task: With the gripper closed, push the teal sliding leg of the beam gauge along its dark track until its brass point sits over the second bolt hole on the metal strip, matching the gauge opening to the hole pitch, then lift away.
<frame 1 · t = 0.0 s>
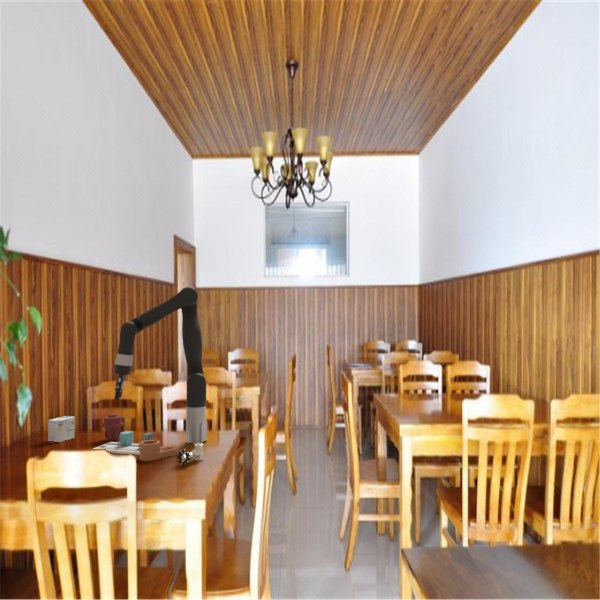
hand: (117, 398, 229), 22 cm above the table, tool pointing down, fingers open, 8 cm apart
fixed leg: (147, 449, 223), resting on gauge board
light bulb box: (61, 440, 241), on the table
bracket: (159, 456, 213), on the table
gauge board: (125, 449, 223), on the table
valve: (192, 462, 203), on the table
mechanical component: (112, 440, 242), on the table
sliding leg: (123, 439, 224), point 4 cm above the table, slide at 0.0 cm
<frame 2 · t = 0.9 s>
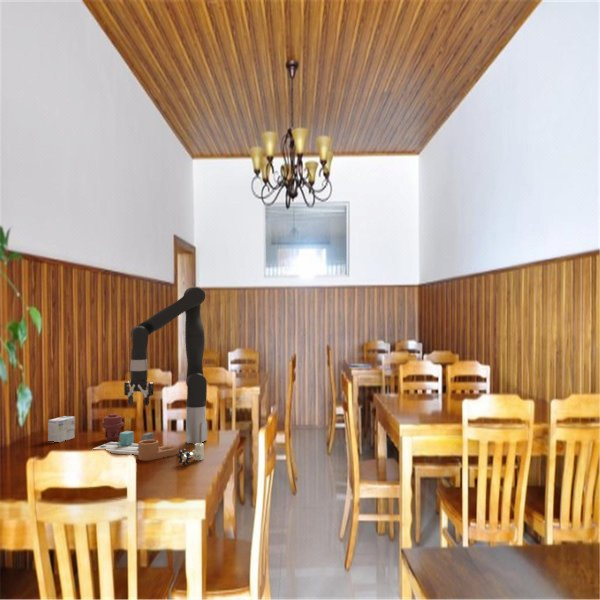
hand: (138, 405, 225), 20 cm above the table, tool pointing down, fingers open, 7 cm apart
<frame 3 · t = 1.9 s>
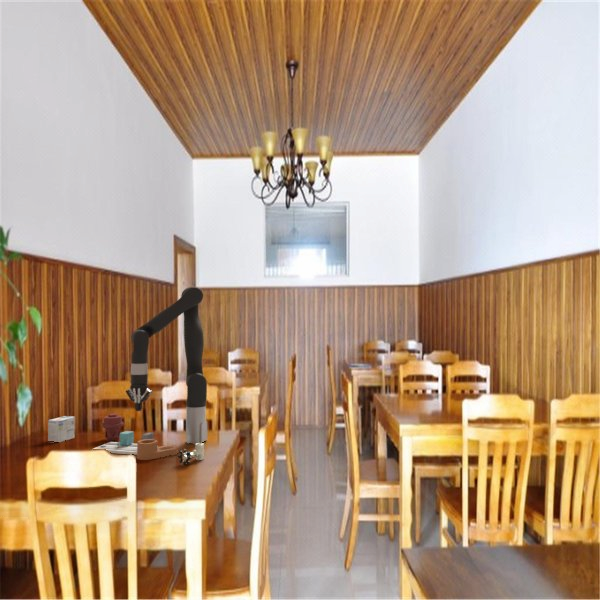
hand: (138, 410, 225), 17 cm above the table, tool pointing down, fingers closed
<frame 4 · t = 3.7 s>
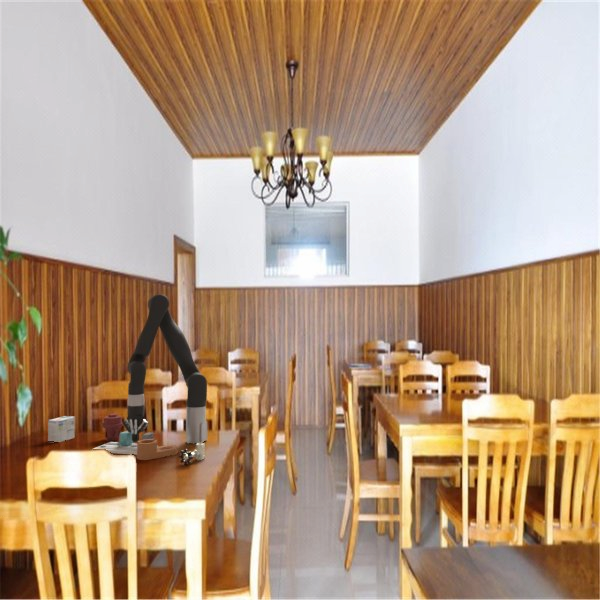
hand: (135, 441, 225), 3 cm above the table, tool pointing down, fingers closed
sliding leg: (123, 439, 224), point 4 cm above the table, slide at 0.1 cm, touching gripper
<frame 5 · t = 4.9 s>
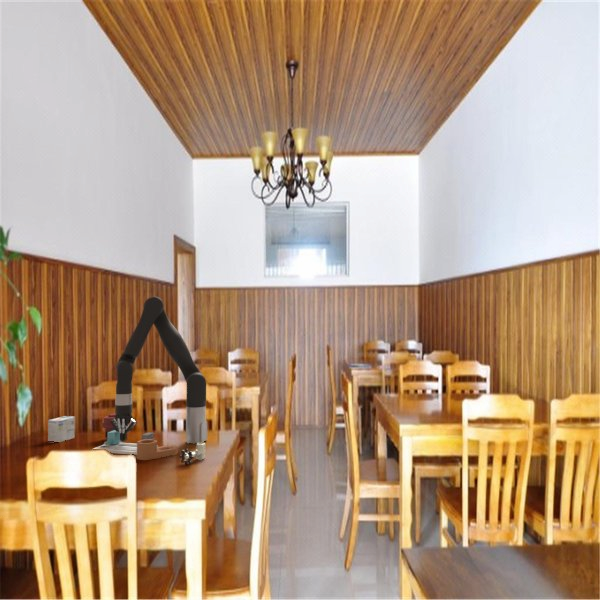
hand: (123, 440, 226), 3 cm above the table, tool pointing down, fingers closed
sliding leg: (111, 438, 226), point 4 cm above the table, slide at 6.5 cm, touching gripper
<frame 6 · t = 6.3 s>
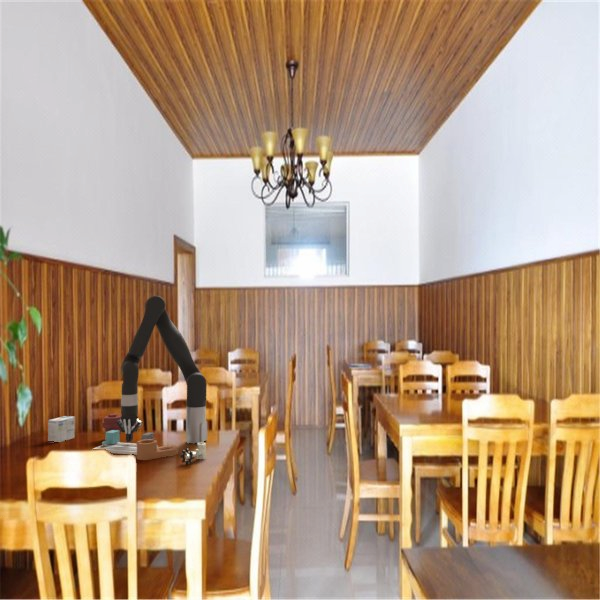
hand: (129, 441, 226), 3 cm above the table, tool pointing down, fingers closed
sliding leg: (109, 438, 226), point 4 cm above the table, slide at 7.5 cm
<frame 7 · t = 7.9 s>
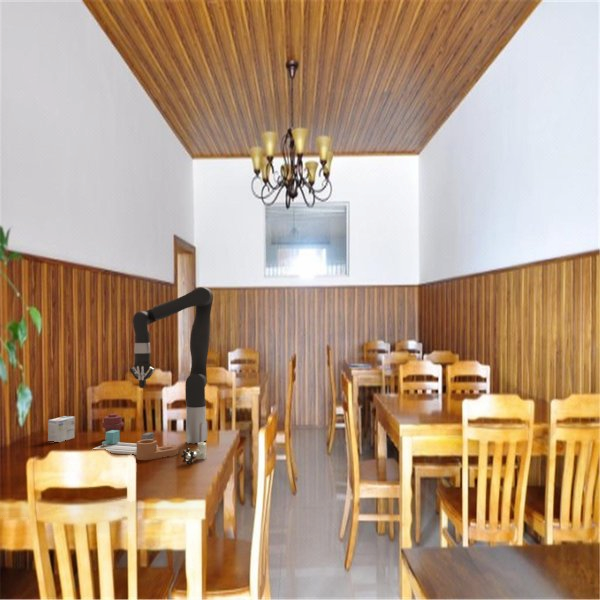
hand: (142, 387, 239), 26 cm above the table, tool pointing down, fingers closed
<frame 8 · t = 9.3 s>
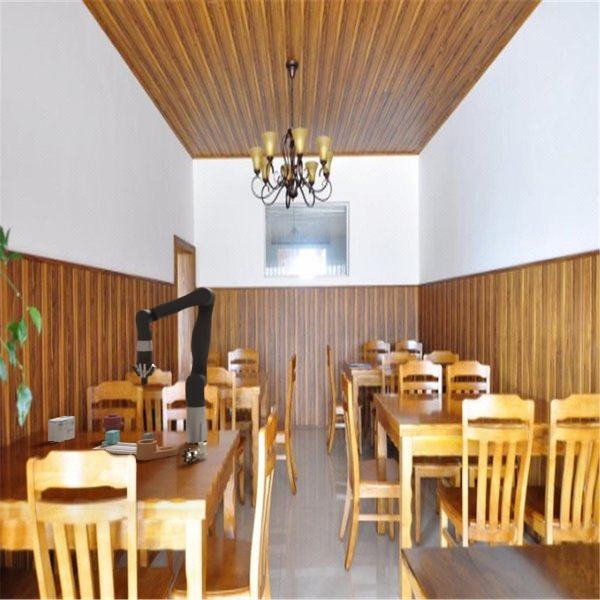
hand: (144, 385, 241), 27 cm above the table, tool pointing down, fingers closed
at the end: sliding leg slide at 7.5 cm; sliding leg touching nothing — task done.
